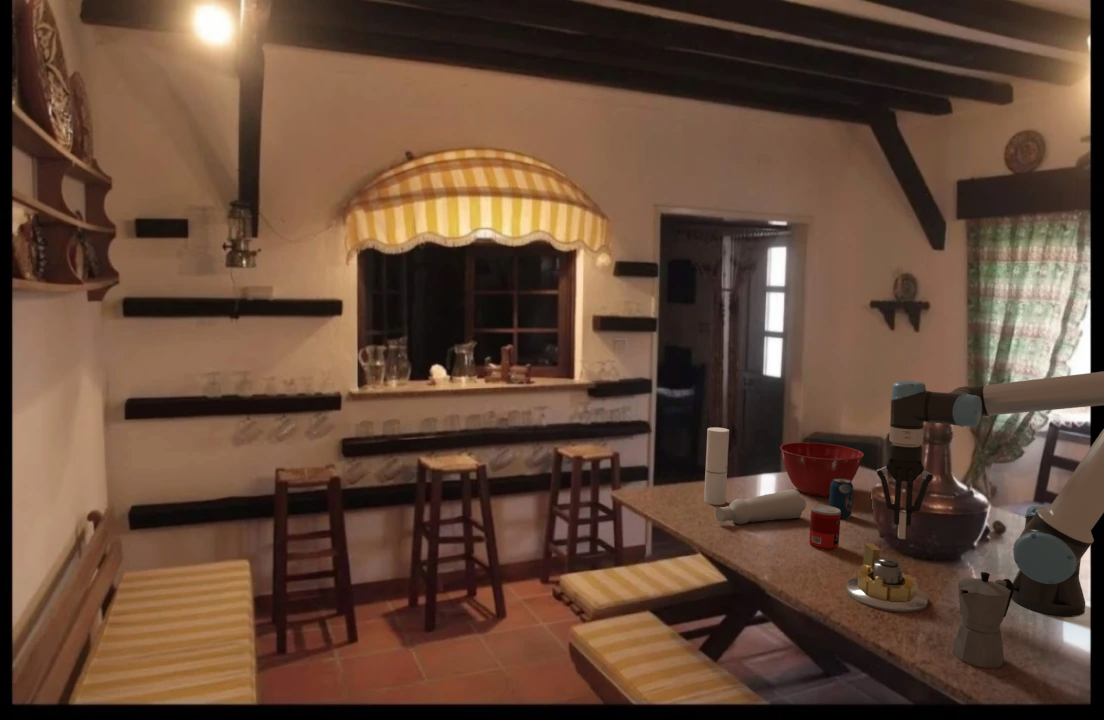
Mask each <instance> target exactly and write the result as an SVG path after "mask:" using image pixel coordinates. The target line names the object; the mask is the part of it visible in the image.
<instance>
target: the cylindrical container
mask: <svg viewBox="0 0 1104 720" xmlns="http://www.w3.org/2000/svg"><path fill="white" fill-rule="evenodd" d="M706 430H707V433H706V435H707V436H706V454H705V475H704V494H703V496H704V497H703V502H704V503H706V504H708V505H714V506H715V505H716V506H719V505H720V506H721V505H724V504H726V497H727V479H728V478H727V477H728V476H727V475H728V461H729V460H728V457H729V444H730V443H729V441H730V429H727V428H724V427H708V428H707V429H706Z"/></svg>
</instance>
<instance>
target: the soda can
mask: <svg viewBox="0 0 1104 720" xmlns="http://www.w3.org/2000/svg"><path fill="white" fill-rule="evenodd" d="M852 482H853V480H852V481H851V480H849V479H845V478H833V481H832V482H831V484H830V496H828V497H829V500H828V506H832V507H835V508H838V509H840V510H841V518H847V519H849V518H850V516H852V512H853V511H852V509H853V492H854V485H853V484H852Z"/></svg>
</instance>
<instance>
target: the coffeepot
mask: <svg viewBox="0 0 1104 720" xmlns="http://www.w3.org/2000/svg"><path fill="white" fill-rule="evenodd" d="M980 576H981V577H980V578H975V577H973V578H972V577H970V578H967V577H965V578H963V577H962V579H961V580H959V581H958V582H957V587H958V588H957V589H958V598H959V599H958V600H959V611H960V612H959V613H960V615H961V616H962V621H961V623H960V625H959V627H958V628H959V629H958V631H957V635H956V638H955V642H954V645H953V648H952V651H951V652H952V653H953V654H954V655H955V657H956V658H957V659H959V660H960V661H962V662H964V663H965V664H968V665H971V666H974V667H978V668H982V669H983V668H984V669H996V668H997V669H998V668H1000V667H1001V666H1003V663H1004V661H1005V657H1004V649H1003V638H1002V631H1001V624H1002V623H1003V621H1004V618H1005V617H1006V616H1007V613H1008V610H1009V607H1010V605H1011V601H1012V595H1013V593H1014V589H1015V588H1014V585H1013V582H1012V580H1010V579H1009V578H1004V579H996V580H995V581H993V580H992V581H991V580H989V579H990V576H991V574H990V573H989V572H986V571H981V572H980Z"/></svg>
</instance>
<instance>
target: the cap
mask: <svg viewBox="0 0 1104 720" xmlns="http://www.w3.org/2000/svg"><path fill="white" fill-rule="evenodd" d="M903 571H904V566H903V564H901V563H900V562H899V560H898V559H896V558H894V557H891V556H890V557H889V556H881V557H880V558H879V560H875V561H874V570H873V581H874V580H875V577H877V576H880V577H883V578H885V584H886V585H902V573H904V572H903ZM857 584H858V577H854V578H852V579H850V580H849V581H847V582H846V593H847V594H848V596H849V597H851V598H852V599H853V600H855V601H857V602H858V603H861V604H862V605H865V606H868V607H871V608H875V609H878V610H883V611H887V612H893V613H894V612H896V613H913V612H919V611H922V610H924V609H925V608H926V607H927V606H928V596H927V594H926V593H925V592H924V591H923V590H921V589H920V588H918V587H917V594H916V596H915V597H914V598H913V599H911V600H908V601H890V600H888V599H887V600H884V599H880V598H877V597H874V596H870V595H868V594H867V593H864V592H863V591H862V590H861V589H860V588H859V587H858V585H857Z"/></svg>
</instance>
